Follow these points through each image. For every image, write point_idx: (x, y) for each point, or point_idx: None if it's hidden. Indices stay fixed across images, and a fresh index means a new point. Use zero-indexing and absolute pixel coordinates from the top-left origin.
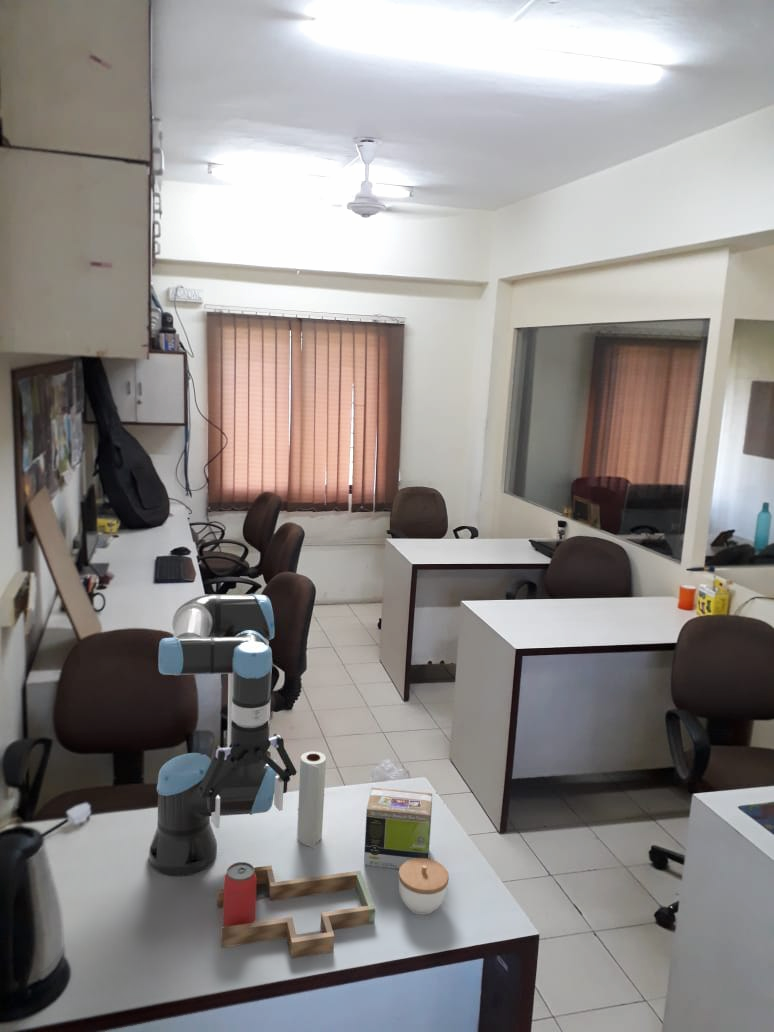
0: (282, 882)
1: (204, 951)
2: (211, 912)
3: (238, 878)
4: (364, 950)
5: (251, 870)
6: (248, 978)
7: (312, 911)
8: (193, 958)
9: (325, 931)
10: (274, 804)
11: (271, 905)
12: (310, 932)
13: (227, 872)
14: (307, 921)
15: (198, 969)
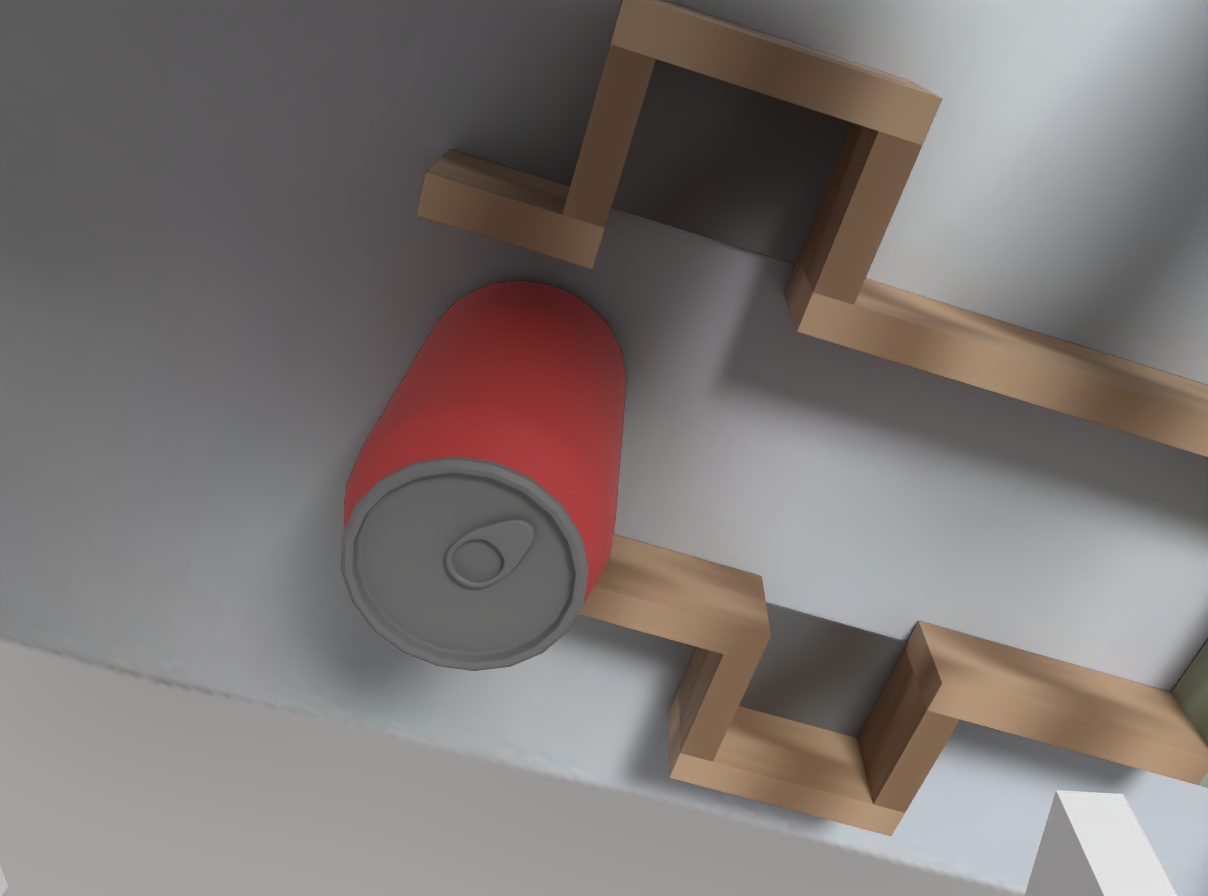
0: (897, 336)
1: (277, 477)
2: (394, 204)
3: (419, 626)
4: (1004, 822)
5: (559, 589)
6: (434, 713)
7: (961, 499)
8: (212, 492)
9: (884, 759)
10: (1054, 814)
11: (772, 335)
12: (848, 628)
13: (346, 545)
14: (886, 550)
15: (223, 566)
